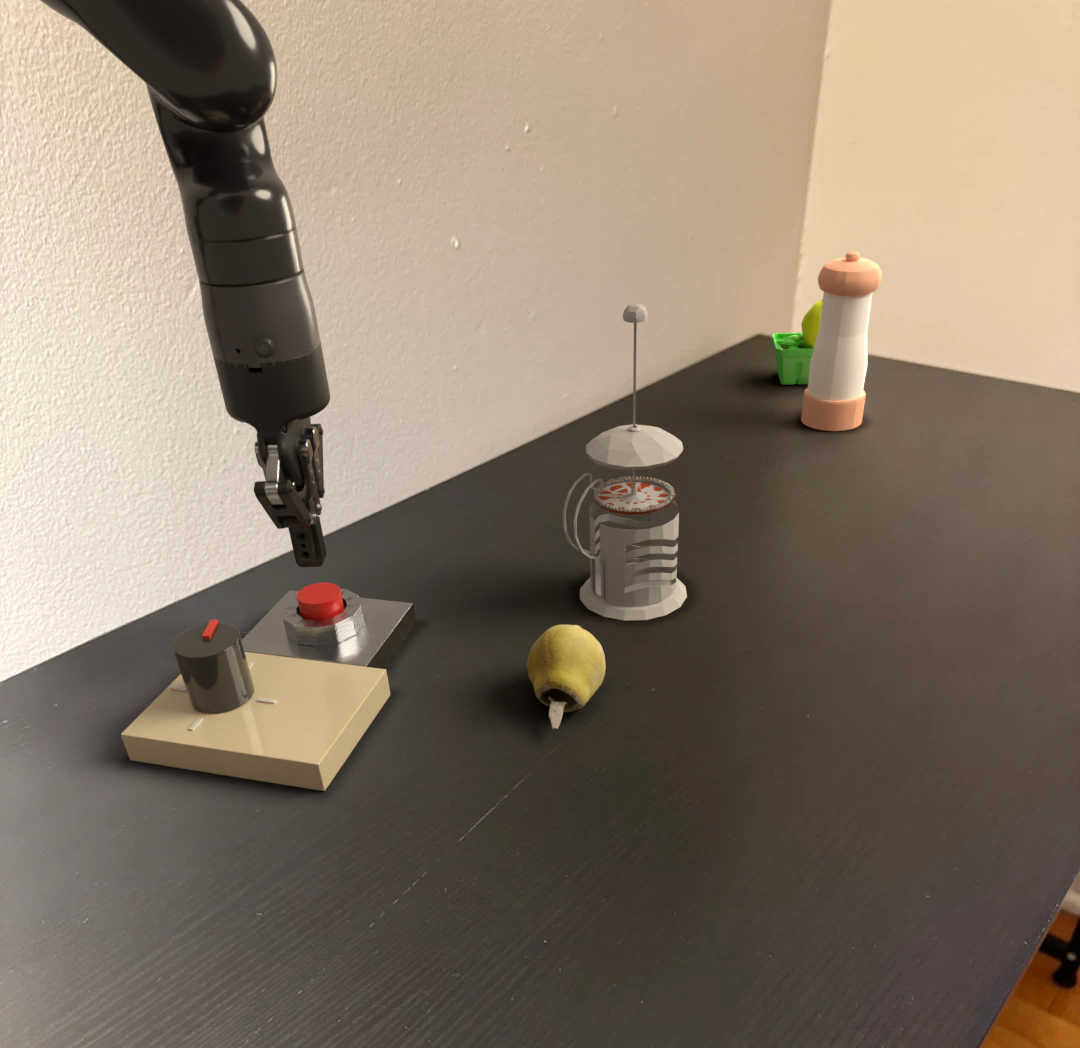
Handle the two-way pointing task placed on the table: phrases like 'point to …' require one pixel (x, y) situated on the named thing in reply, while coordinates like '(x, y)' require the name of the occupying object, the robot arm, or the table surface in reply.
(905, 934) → the table surface
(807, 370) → the fruit basket
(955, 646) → the table surface
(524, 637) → the table surface
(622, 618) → the french press
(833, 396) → the salt shaker
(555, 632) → the fruit
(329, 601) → the button
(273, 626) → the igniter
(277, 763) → the panel
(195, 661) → the knob
